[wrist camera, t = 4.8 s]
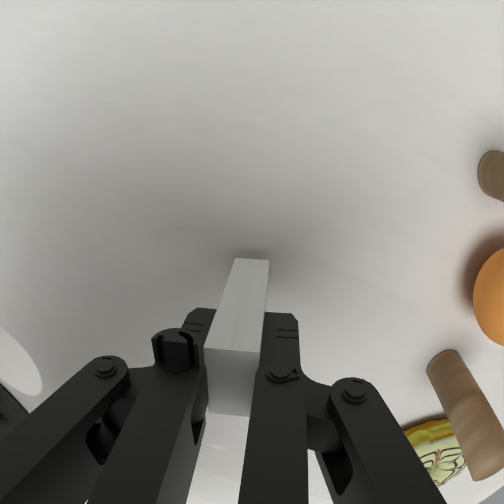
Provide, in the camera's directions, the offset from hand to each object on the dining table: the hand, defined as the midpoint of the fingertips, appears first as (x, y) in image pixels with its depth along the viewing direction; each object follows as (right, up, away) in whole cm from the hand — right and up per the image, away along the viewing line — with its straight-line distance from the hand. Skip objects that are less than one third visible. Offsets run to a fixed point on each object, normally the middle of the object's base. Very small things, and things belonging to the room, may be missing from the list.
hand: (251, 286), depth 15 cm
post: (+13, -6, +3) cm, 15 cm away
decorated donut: (+15, -16, +7) cm, 23 cm away
